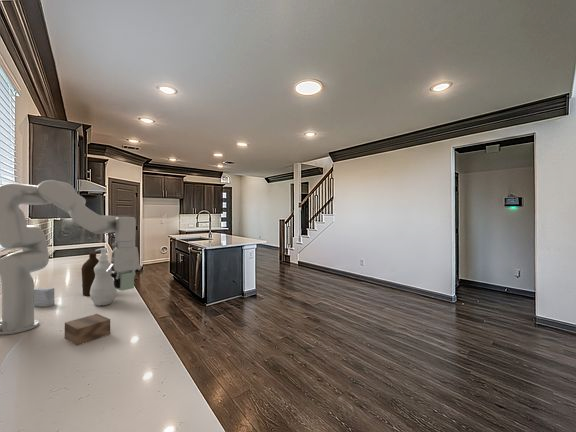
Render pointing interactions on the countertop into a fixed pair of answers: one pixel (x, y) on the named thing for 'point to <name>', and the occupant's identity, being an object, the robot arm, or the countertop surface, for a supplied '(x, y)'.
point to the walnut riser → (87, 329)
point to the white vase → (102, 282)
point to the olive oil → (88, 273)
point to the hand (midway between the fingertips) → (124, 285)
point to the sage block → (126, 280)
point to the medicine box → (44, 297)
